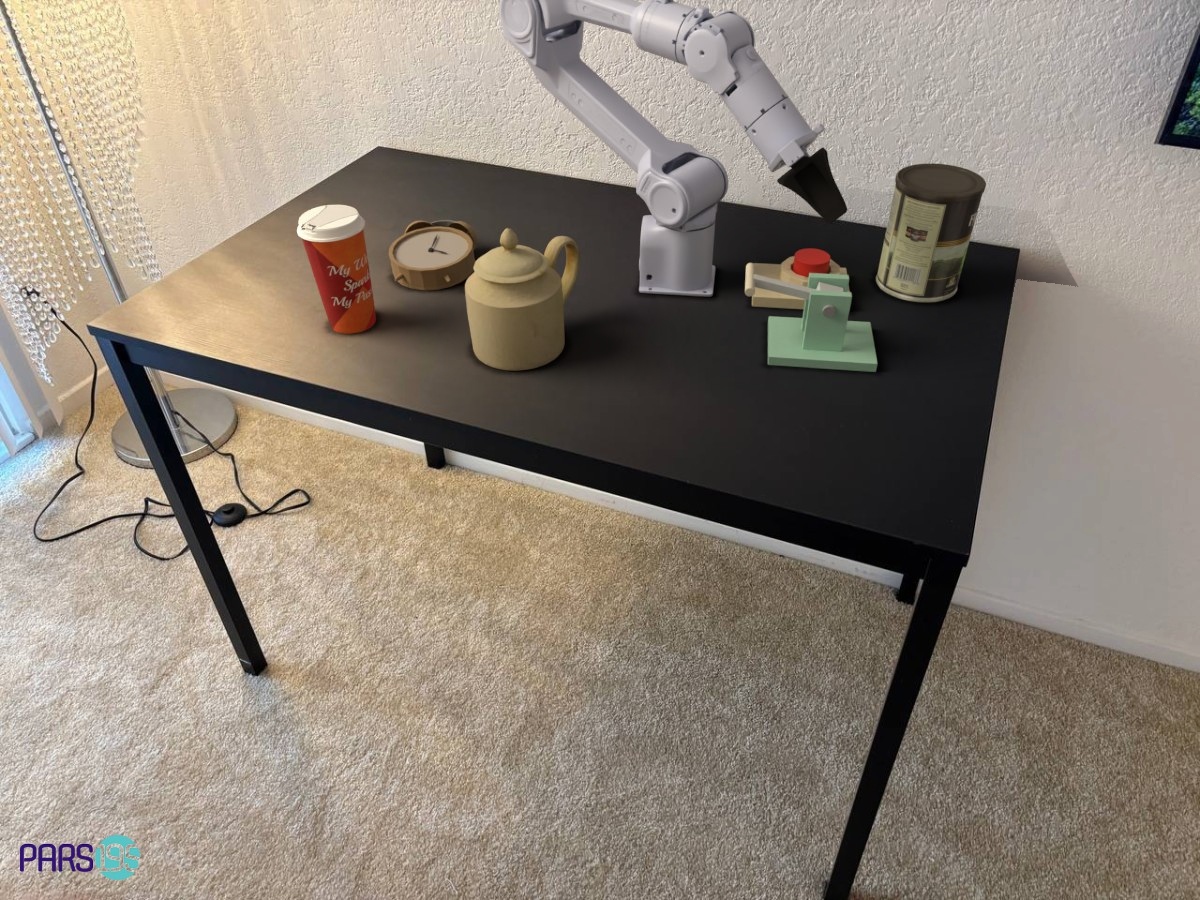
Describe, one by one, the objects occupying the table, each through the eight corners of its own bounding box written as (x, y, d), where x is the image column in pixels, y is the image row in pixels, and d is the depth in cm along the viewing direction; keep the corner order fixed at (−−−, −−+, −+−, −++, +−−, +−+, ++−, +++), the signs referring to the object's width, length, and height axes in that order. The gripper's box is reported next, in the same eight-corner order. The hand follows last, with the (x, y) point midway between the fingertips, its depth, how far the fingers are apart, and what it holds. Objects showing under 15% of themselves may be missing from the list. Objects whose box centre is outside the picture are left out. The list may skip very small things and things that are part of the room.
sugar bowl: (502, 302, 111) (490, 189, 101) (584, 311, 108) (581, 197, 99) (458, 365, 99) (440, 245, 90) (549, 377, 97) (541, 256, 88)
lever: (741, 300, 95) (748, 281, 94) (743, 274, 100) (749, 256, 98) (837, 324, 95) (845, 306, 94) (834, 297, 100) (842, 279, 98)
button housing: (751, 306, 108) (754, 282, 106) (752, 272, 115) (755, 248, 113) (849, 312, 107) (854, 287, 105) (844, 277, 114) (848, 253, 111)
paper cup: (353, 344, 103) (328, 236, 94) (308, 328, 106) (279, 221, 98) (398, 315, 108) (377, 210, 99) (353, 300, 112) (330, 197, 103)
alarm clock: (377, 270, 111) (405, 203, 121) (386, 300, 115) (412, 233, 125) (462, 273, 110) (483, 205, 120) (468, 303, 114) (488, 235, 124)
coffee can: (952, 268, 115) (980, 164, 106) (961, 306, 107) (992, 198, 98) (872, 262, 117) (893, 160, 108) (876, 299, 109) (899, 193, 100)
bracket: (767, 365, 98) (775, 301, 93) (767, 324, 105) (775, 262, 100) (875, 372, 97) (890, 307, 91) (868, 330, 104) (881, 268, 98)
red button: (793, 278, 108) (795, 263, 106) (792, 261, 111) (794, 247, 110) (829, 280, 107) (831, 265, 106) (827, 263, 110) (829, 249, 109)
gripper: (793, 82, 86) (872, 193, 87) (802, 96, 99) (870, 192, 100) (736, 130, 89) (812, 237, 90) (751, 137, 102) (818, 231, 103)
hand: (839, 216), depth 95 cm, fingers open, 7 cm apart
